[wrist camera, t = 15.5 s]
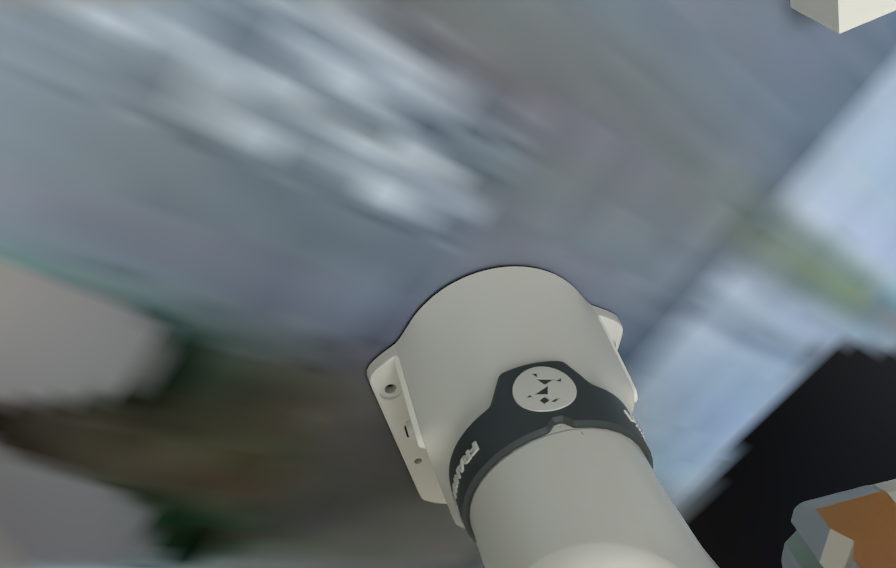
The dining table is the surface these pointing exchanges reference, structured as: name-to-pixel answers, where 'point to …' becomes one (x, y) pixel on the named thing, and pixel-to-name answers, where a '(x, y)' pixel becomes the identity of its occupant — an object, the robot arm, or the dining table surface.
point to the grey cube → (843, 11)
